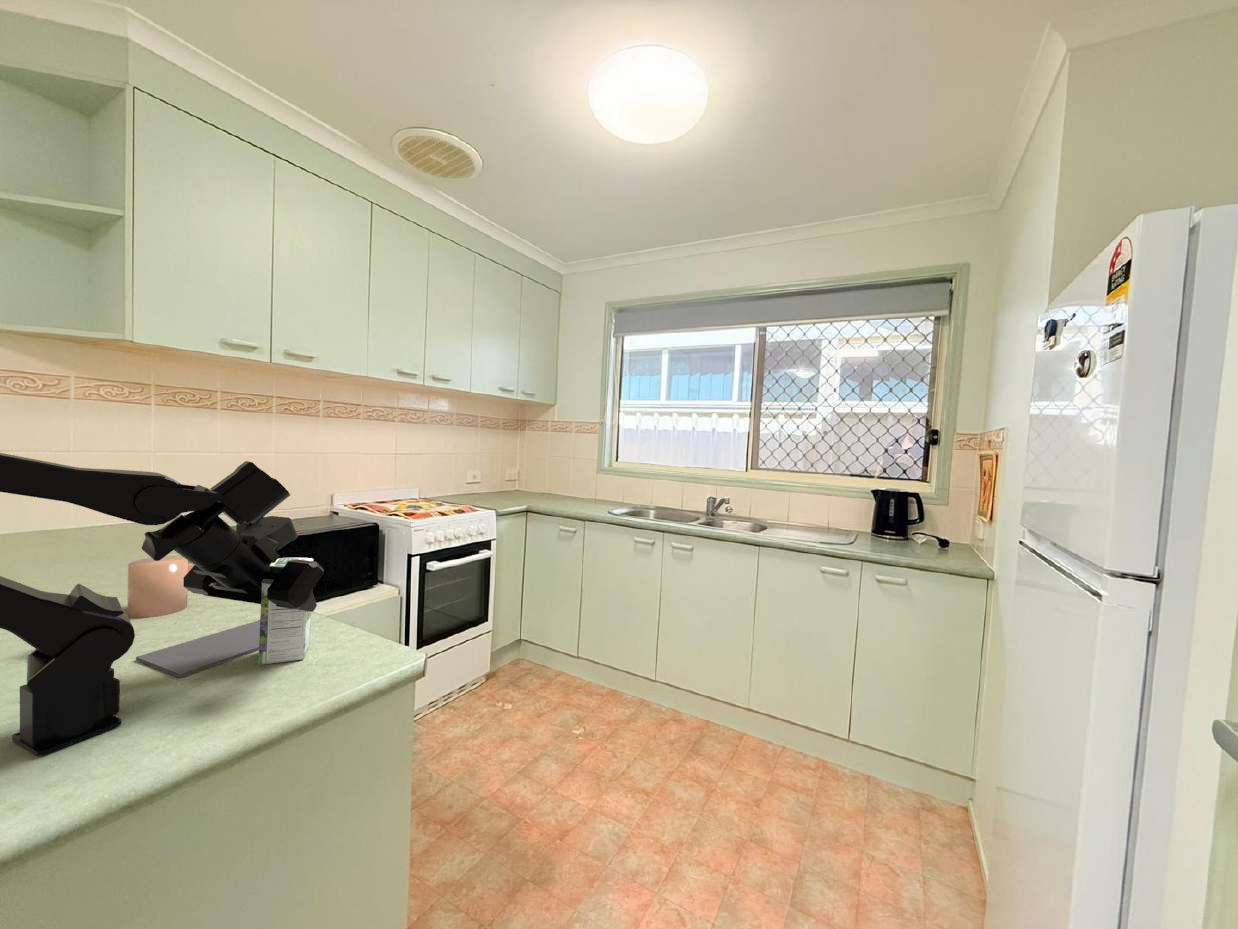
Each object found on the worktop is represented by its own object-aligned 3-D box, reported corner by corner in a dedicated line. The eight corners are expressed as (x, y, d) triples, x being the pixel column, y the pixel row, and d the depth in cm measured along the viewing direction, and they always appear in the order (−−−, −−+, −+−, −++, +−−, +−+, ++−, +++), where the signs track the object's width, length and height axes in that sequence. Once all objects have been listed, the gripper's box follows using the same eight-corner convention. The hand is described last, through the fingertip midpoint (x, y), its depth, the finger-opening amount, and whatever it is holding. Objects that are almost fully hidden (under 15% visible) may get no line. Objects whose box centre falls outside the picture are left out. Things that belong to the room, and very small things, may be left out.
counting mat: (179, 678, 66) (180, 674, 66) (135, 660, 70) (135, 656, 70) (308, 632, 83) (308, 630, 83) (266, 620, 87) (266, 618, 87)
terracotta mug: (142, 621, 84) (142, 569, 84) (117, 612, 87) (118, 563, 87) (209, 604, 93) (210, 558, 93) (185, 597, 96) (185, 552, 96)
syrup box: (267, 649, 76) (269, 558, 75) (311, 645, 78) (313, 556, 78) (257, 666, 71) (259, 567, 70) (305, 660, 73) (308, 565, 72)
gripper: (314, 505, 66) (369, 566, 78) (206, 495, 70) (274, 554, 82) (259, 577, 59) (329, 632, 70) (142, 561, 63) (226, 616, 74)
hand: (289, 605), depth 74 cm, fingers open, 9 cm apart
